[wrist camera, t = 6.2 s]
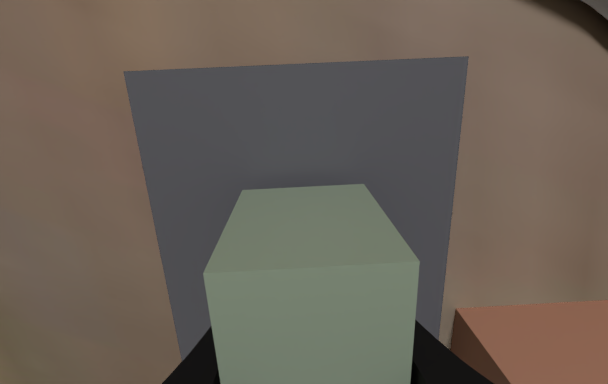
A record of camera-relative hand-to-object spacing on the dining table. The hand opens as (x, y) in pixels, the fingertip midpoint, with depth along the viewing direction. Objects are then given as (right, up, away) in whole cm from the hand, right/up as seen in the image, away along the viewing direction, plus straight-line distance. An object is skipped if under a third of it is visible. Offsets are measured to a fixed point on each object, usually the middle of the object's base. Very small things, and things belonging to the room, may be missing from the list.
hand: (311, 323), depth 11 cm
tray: (0, 0, +4) cm, 4 cm away
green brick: (0, +1, +1) cm, 2 cm away
